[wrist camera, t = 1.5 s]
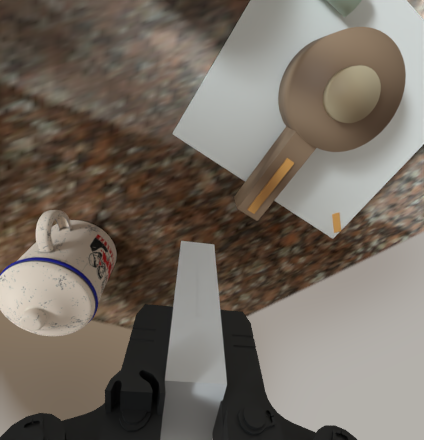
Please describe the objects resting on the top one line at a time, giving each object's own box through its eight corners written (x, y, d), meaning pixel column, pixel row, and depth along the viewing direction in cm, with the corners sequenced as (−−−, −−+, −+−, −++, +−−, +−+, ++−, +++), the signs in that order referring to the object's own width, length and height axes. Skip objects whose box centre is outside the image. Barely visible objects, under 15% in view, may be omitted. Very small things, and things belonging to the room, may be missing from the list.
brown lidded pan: (325, 9, 23) (357, -9, 18) (396, 78, 25) (439, 77, 21) (208, 181, 29) (210, 199, 24) (274, 223, 31) (287, 246, 27)
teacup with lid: (122, 280, 36) (92, 360, 26) (50, 279, 36) (-10, 360, 25) (113, 194, 31) (70, 250, 21) (28, 191, 31) (-60, 248, 20)
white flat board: (173, 131, 28) (169, 138, 25) (304, -93, 22) (325, -127, 18) (327, 232, 35) (342, 249, 31) (468, 83, 28) (507, 83, 24)
